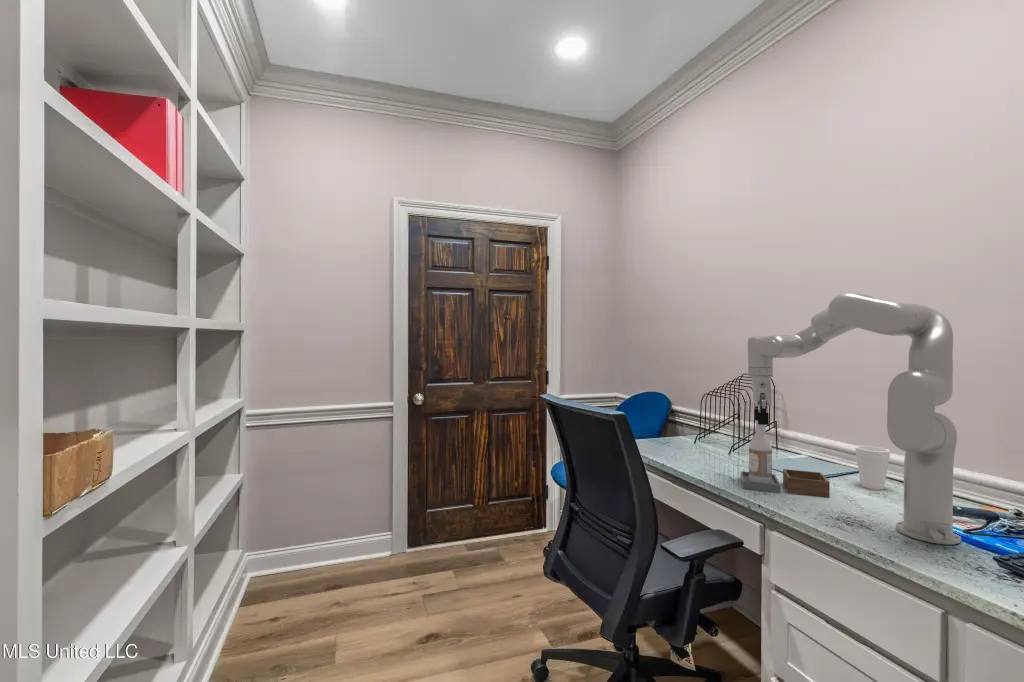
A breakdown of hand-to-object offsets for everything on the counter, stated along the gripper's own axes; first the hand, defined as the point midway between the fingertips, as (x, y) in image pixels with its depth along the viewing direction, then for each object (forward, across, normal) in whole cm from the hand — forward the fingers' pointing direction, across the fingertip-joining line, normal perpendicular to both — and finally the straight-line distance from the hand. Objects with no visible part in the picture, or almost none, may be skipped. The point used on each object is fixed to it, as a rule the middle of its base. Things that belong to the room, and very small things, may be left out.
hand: (761, 422), depth 162 cm
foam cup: (+22, +14, -34) cm, 43 cm away
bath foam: (+21, +1, +1) cm, 21 cm away
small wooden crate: (+22, +1, -12) cm, 25 cm away
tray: (+22, +1, +1) cm, 22 cm away
